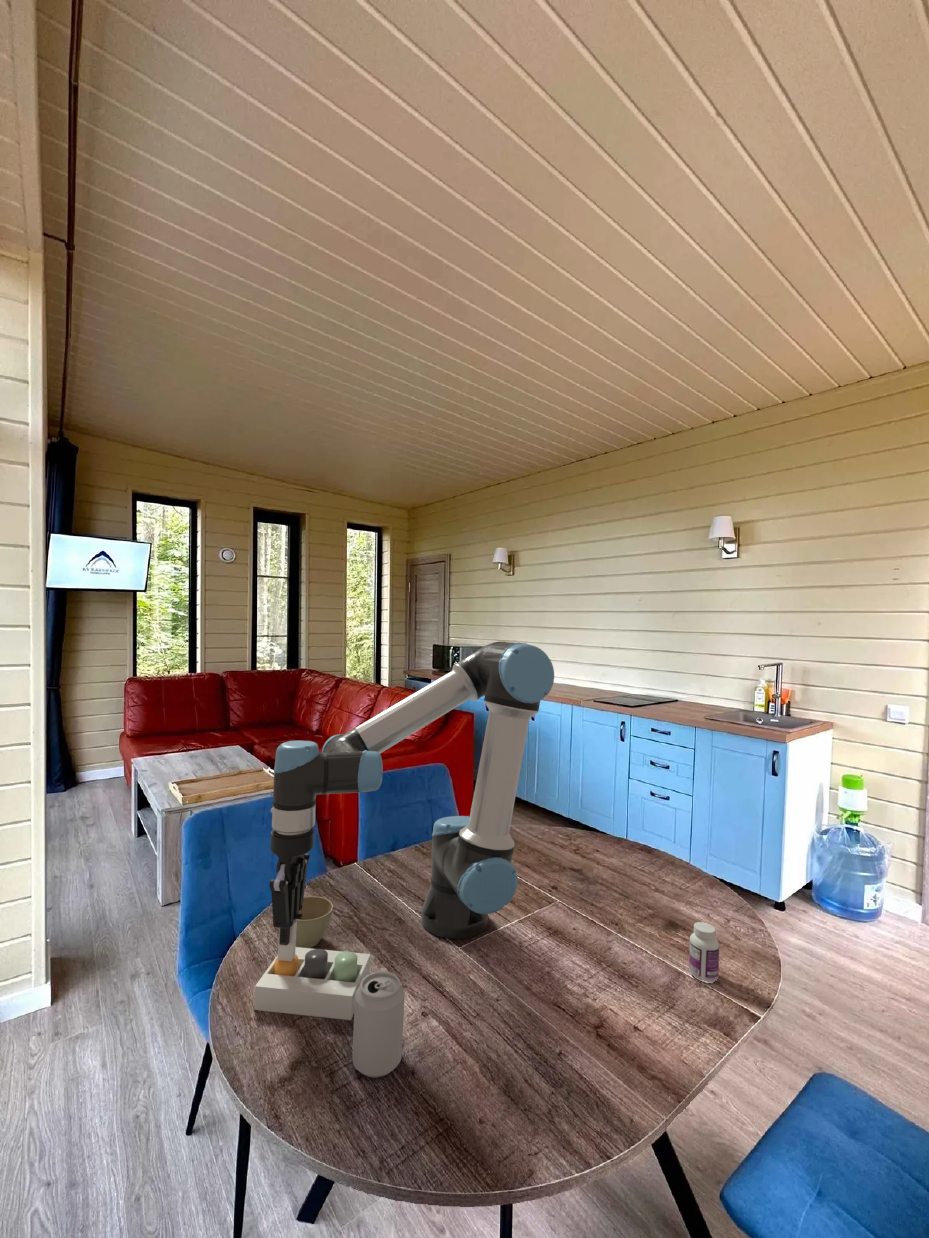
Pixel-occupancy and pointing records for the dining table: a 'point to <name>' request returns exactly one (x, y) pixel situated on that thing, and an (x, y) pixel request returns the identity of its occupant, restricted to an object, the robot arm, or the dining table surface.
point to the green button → (345, 967)
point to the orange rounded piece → (286, 967)
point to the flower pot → (313, 921)
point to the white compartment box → (310, 990)
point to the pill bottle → (704, 952)
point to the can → (378, 1024)
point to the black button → (316, 964)
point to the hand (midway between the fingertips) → (286, 958)
